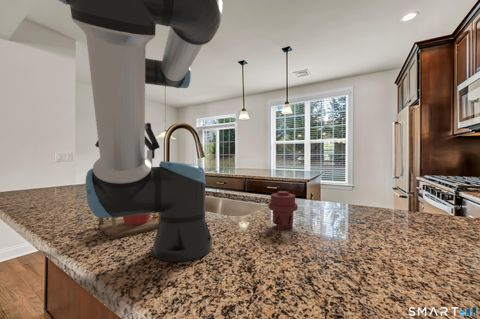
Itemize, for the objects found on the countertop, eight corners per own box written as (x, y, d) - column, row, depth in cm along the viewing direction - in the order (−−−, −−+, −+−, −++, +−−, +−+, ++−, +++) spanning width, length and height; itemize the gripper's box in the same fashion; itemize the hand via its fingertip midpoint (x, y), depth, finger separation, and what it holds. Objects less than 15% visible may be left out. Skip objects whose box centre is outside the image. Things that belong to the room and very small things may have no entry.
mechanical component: (268, 222, 83) (295, 223, 82) (268, 231, 73) (299, 232, 72) (268, 189, 83) (295, 189, 82) (268, 194, 73) (300, 194, 72)
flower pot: (145, 227, 74) (145, 198, 73) (112, 227, 74) (112, 198, 74) (157, 218, 84) (157, 192, 84) (129, 218, 85) (129, 192, 84)
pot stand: (163, 227, 78) (163, 209, 78) (112, 239, 66) (112, 218, 66) (144, 218, 89) (144, 202, 89) (98, 227, 78) (98, 209, 77)
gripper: (159, 113, 88) (159, 166, 89) (83, 102, 70) (84, 169, 71) (168, 110, 83) (168, 167, 84) (89, 98, 65) (90, 170, 66)
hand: (130, 168), depth 77 cm, fingers open, 13 cm apart
